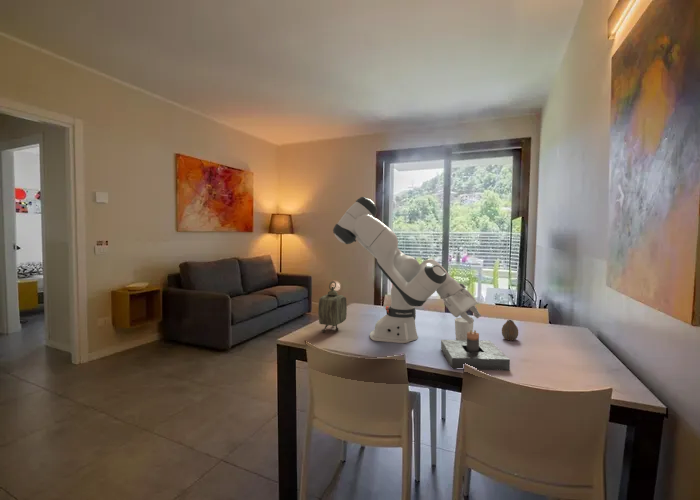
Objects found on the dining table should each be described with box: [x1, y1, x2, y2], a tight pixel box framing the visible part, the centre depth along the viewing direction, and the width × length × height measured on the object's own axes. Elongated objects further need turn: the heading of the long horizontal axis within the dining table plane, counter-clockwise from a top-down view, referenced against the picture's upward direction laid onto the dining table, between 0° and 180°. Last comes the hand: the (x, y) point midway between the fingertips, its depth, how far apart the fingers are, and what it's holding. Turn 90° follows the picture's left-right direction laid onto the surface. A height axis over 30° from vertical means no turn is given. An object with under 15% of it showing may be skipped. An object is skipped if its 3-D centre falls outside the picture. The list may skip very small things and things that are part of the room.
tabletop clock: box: [317, 280, 348, 333], centre depth 162 cm, size 14×9×25 cm, turn 155°
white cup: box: [454, 317, 474, 340], centre depth 145 cm, size 8×8×10 cm
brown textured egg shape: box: [501, 319, 519, 342], centre depth 148 cm, size 7×7×9 cm
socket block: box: [440, 339, 511, 372], centre depth 125 cm, size 20×20×4 cm
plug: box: [467, 329, 480, 352], centre depth 125 cm, size 4×4×11 cm
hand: (476, 319), depth 125 cm, fingers open, 8 cm apart
